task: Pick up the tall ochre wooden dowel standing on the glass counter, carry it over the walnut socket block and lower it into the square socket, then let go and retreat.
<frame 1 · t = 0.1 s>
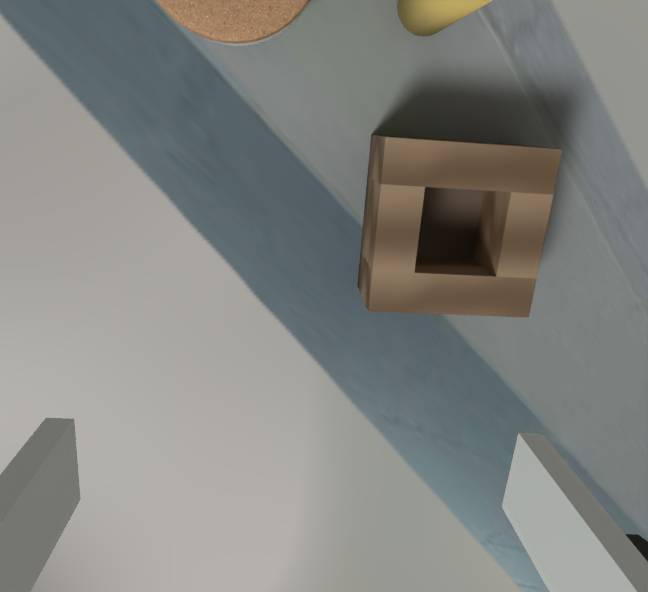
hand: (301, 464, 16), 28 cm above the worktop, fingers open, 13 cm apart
socket block: (438, 218, 42), on the worktop
dowel: (425, 5, 37), on the worktop
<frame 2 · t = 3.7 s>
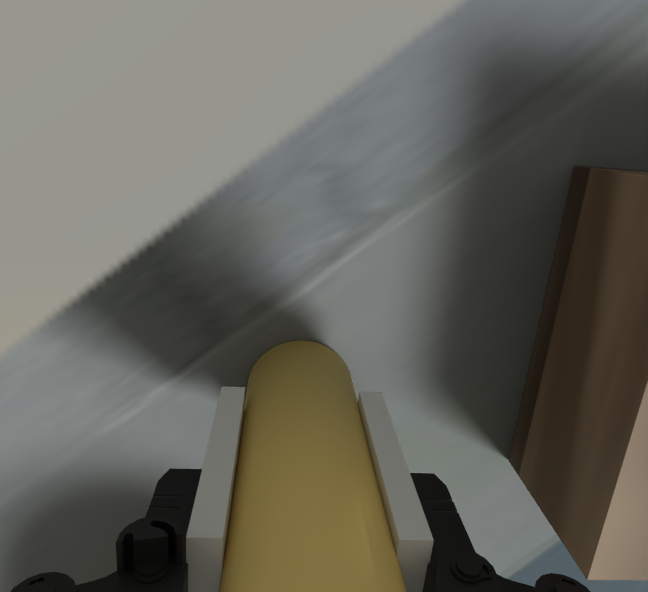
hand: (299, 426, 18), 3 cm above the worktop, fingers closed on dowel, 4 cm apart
dowel: (300, 388, 20), on the worktop, touching gripper
when the fingers open (7 cm above the worktop, at t = 8.6 s): dowel stays where it is, resting on socket block.
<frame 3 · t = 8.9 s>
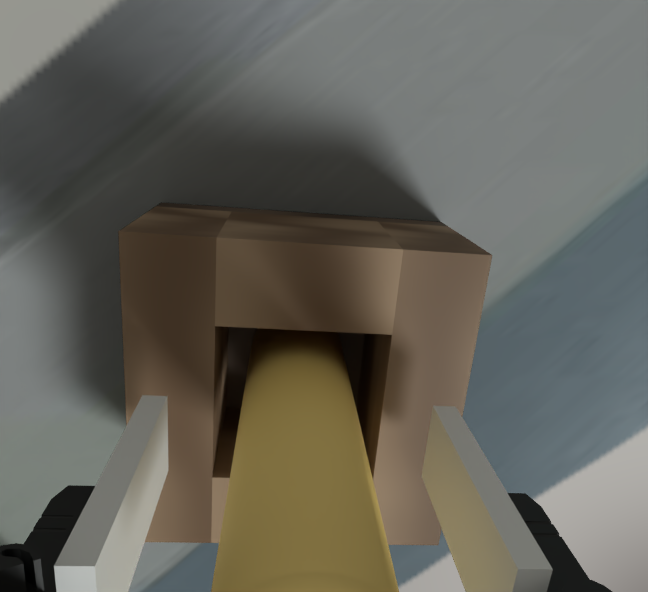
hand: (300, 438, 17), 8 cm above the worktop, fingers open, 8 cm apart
socket block: (295, 341, 24), on the worktop
dowel: (296, 350, 23), point 1 cm above the worktop, touching socket block
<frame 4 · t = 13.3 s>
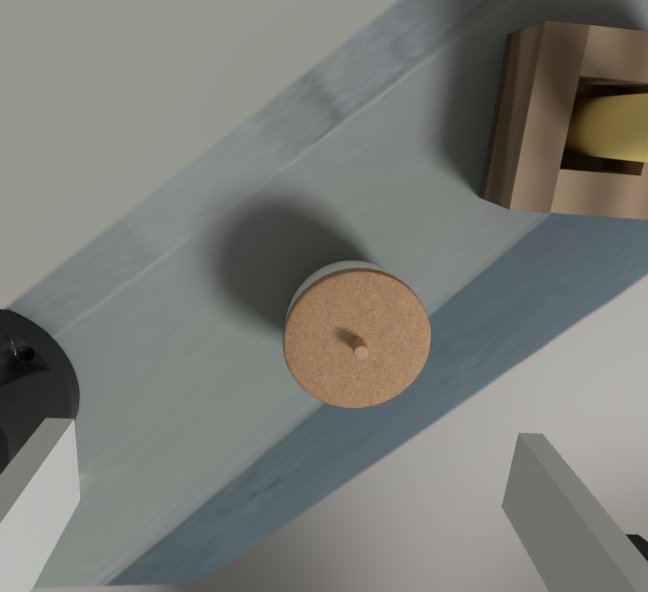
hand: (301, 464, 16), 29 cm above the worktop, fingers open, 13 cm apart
socket block: (566, 126, 41), on the worktop
dowel: (573, 126, 40), point 1 cm above the worktop, touching socket block
lidded jar: (345, 306, 45), on the worktop
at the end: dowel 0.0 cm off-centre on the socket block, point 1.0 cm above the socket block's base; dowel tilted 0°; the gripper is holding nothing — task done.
